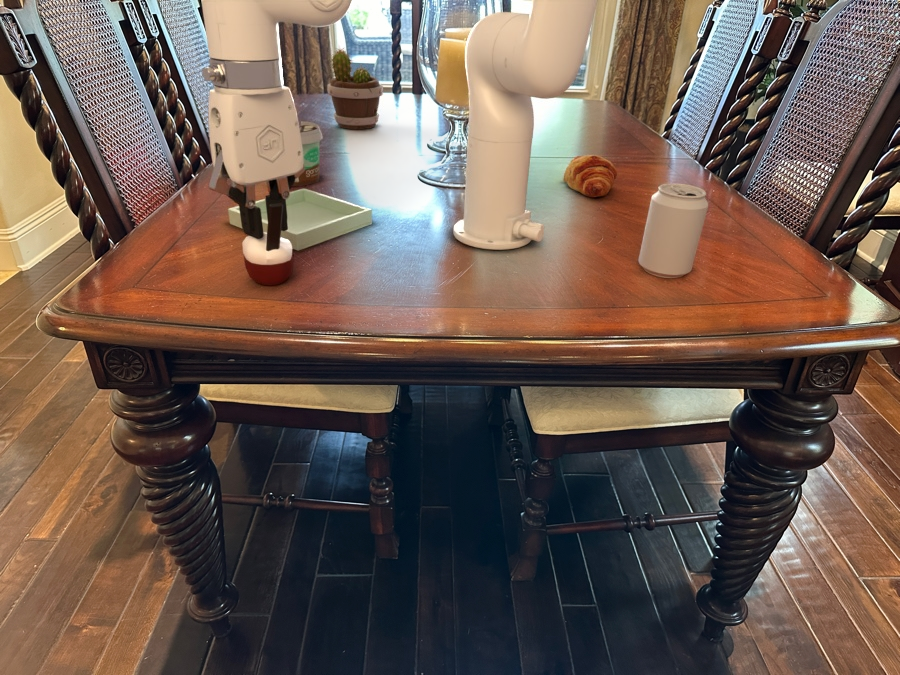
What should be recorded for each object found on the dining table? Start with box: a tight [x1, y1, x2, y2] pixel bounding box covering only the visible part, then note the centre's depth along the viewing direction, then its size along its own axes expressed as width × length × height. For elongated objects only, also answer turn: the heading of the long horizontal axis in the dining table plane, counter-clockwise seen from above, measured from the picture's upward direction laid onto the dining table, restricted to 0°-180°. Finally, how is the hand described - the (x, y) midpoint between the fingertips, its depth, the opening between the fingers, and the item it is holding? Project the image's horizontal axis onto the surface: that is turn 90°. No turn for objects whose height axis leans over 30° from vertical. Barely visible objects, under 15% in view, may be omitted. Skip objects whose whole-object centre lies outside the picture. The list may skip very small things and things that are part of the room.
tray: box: [227, 187, 373, 252], centre depth 99 cm, size 17×16×2 cm
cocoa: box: [241, 203, 295, 287], centre depth 77 cm, size 10×6×12 cm, turn 10°
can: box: [638, 182, 709, 279], centre depth 85 cm, size 8×8×12 cm
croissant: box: [562, 154, 618, 198], centre depth 122 cm, size 21×10×8 cm, turn 179°
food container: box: [292, 120, 323, 187], centre depth 118 cm, size 12×6×10 cm, turn 168°
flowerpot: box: [326, 45, 384, 131], centre depth 160 cm, size 14×15×20 cm
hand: (266, 230), depth 77 cm, fingers open, 3 cm apart
